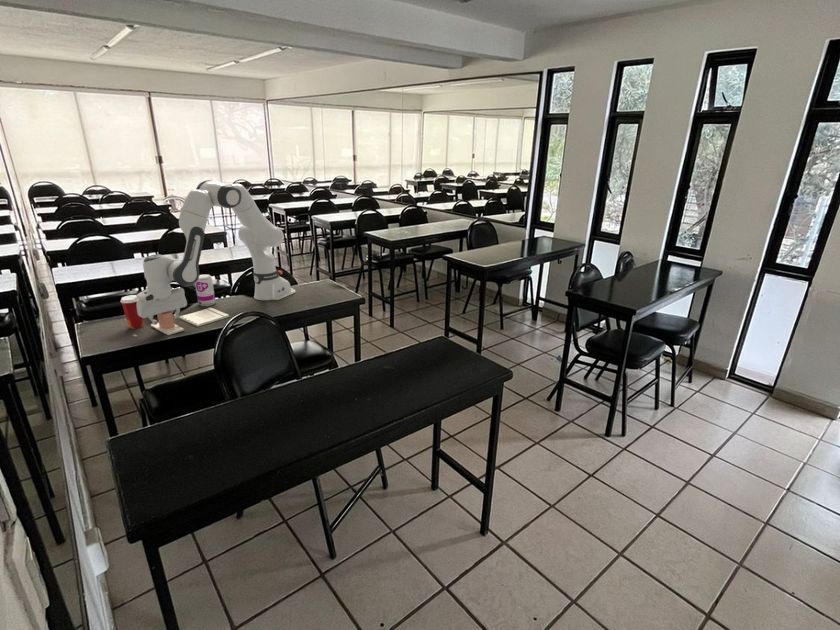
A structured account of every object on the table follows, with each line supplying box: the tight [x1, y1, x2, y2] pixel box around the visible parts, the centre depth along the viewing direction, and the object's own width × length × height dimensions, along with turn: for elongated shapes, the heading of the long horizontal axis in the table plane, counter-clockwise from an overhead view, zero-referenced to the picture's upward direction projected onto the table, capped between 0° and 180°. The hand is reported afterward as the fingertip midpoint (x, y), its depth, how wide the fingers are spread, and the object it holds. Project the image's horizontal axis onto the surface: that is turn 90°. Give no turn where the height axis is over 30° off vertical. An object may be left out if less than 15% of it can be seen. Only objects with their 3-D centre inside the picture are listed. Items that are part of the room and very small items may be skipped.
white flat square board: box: [179, 307, 230, 327], centre depth 221 cm, size 16×16×1 cm
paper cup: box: [119, 294, 144, 330], centre depth 208 cm, size 8×8×14 cm
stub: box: [150, 311, 185, 336], centre depth 206 cm, size 7×16×8 cm, turn 53°
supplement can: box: [194, 273, 216, 307], centre depth 236 cm, size 8×8×15 cm
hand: (165, 321), depth 207 cm, fingers open, 8 cm apart
